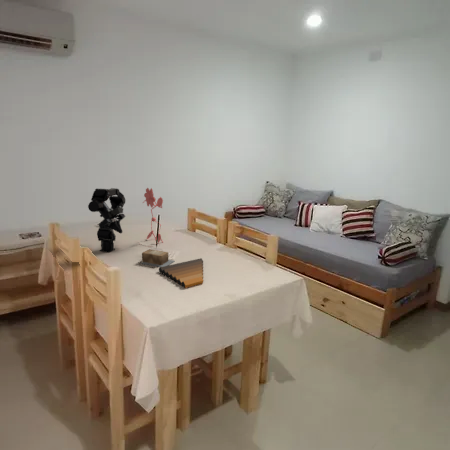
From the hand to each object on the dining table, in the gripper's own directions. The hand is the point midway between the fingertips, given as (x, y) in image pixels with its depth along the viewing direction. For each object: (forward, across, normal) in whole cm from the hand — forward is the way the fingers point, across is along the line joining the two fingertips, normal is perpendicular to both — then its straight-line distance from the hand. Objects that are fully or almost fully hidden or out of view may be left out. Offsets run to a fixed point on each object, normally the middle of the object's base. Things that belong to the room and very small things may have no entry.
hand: (121, 232), depth 199 cm
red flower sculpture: (+11, +30, +6) cm, 33 cm away
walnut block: (+18, -2, -4) cm, 19 cm away
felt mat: (+25, -3, -8) cm, 27 cm away
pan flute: (+41, -12, -25) cm, 50 cm away
